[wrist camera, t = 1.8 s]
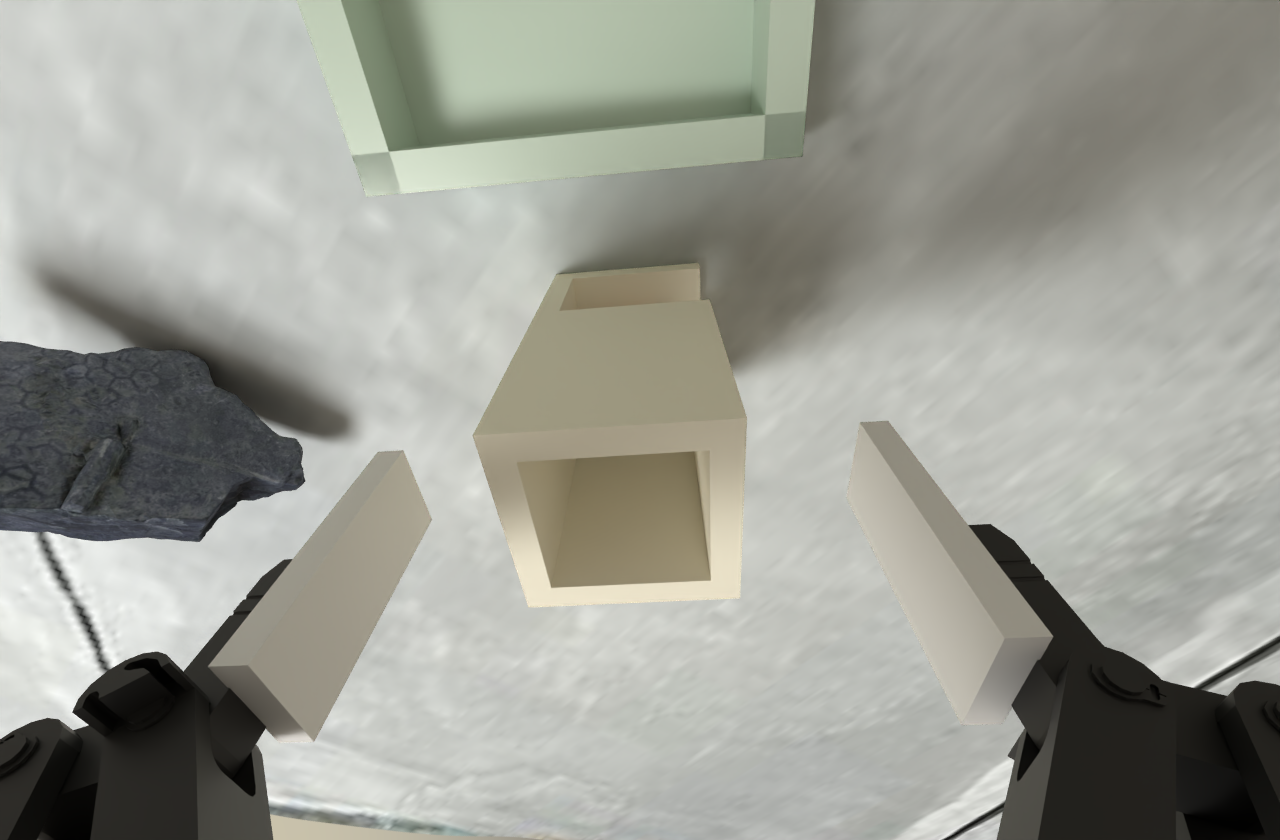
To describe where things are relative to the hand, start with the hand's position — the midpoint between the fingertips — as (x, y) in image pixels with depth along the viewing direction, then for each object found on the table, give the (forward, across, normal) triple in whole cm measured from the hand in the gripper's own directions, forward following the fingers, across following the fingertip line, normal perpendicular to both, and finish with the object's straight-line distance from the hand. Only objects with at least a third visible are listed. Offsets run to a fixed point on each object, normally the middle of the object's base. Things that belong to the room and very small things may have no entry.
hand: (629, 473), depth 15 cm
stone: (+10, -22, 0) cm, 24 cm away
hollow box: (+10, 0, 0) cm, 10 cm away
